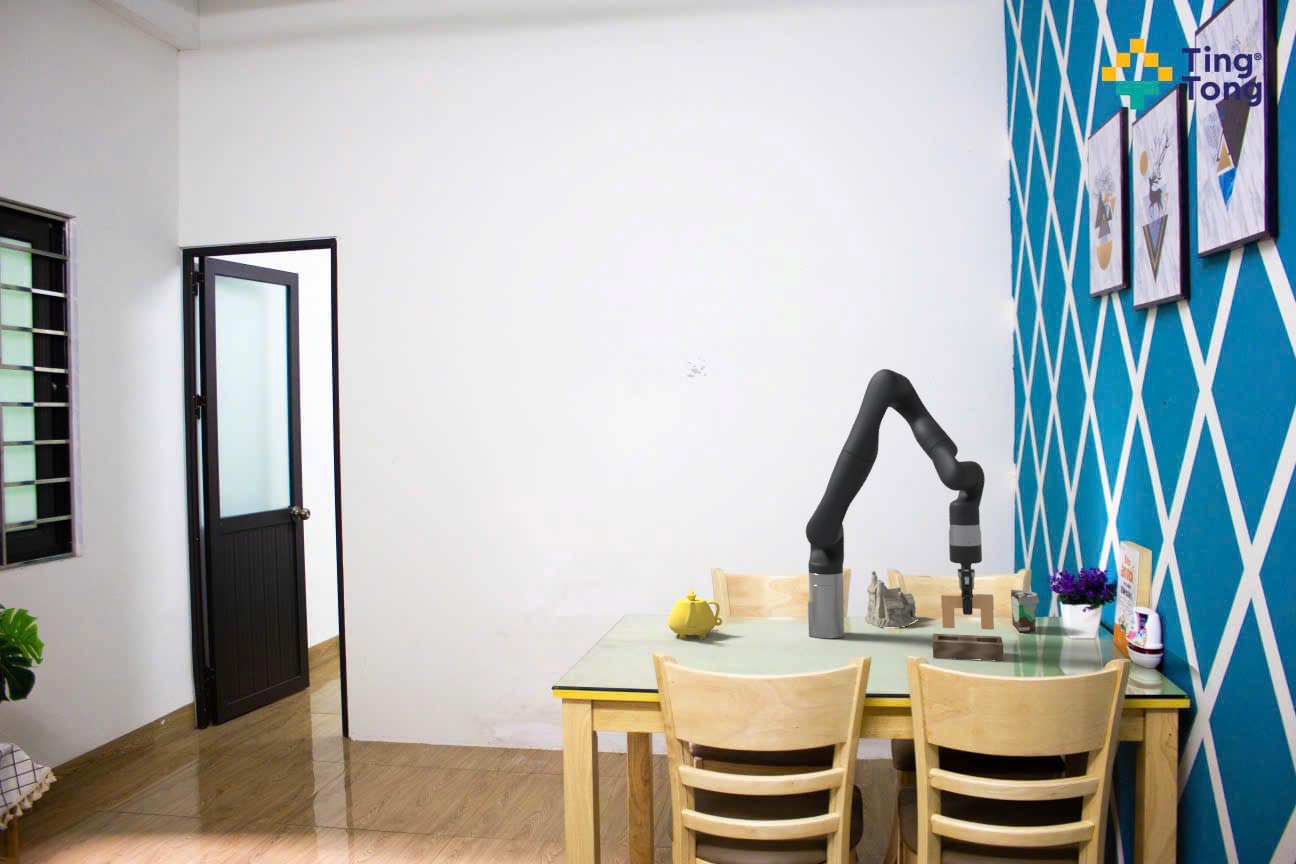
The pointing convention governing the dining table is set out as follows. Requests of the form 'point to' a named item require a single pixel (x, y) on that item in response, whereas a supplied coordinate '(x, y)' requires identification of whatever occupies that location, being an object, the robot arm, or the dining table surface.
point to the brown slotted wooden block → (968, 647)
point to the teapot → (693, 617)
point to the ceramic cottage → (889, 605)
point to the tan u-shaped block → (978, 602)
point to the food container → (1024, 610)
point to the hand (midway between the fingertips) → (967, 612)
